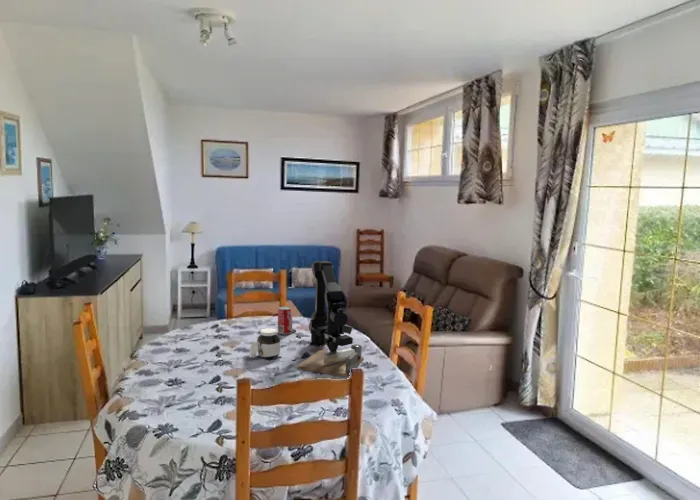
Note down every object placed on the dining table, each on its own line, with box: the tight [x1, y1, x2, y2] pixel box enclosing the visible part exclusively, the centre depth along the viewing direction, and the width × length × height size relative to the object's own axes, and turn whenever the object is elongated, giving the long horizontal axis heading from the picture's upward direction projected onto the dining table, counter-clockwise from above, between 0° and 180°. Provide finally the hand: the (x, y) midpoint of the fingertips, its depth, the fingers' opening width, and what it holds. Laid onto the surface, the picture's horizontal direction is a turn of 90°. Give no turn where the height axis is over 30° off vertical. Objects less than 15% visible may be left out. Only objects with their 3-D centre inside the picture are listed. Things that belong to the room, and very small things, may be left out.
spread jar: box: [249, 327, 281, 360], centre depth 213 cm, size 12×11×12 cm
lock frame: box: [297, 349, 364, 378], centre depth 206 cm, size 22×21×7 cm
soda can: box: [277, 305, 293, 336], centre depth 247 cm, size 7×7×13 cm
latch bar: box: [324, 343, 362, 365], centre depth 207 cm, size 18×4×5 cm, turn 128°
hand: (333, 355), depth 207 cm, fingers closed
